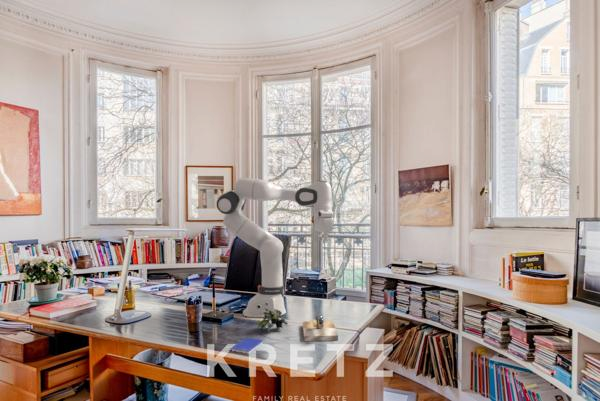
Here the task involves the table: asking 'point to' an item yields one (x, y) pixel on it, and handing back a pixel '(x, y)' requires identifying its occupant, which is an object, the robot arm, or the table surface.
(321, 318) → the lock bar
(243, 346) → the hard drive
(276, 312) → the green leafy plant
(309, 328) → the door board
